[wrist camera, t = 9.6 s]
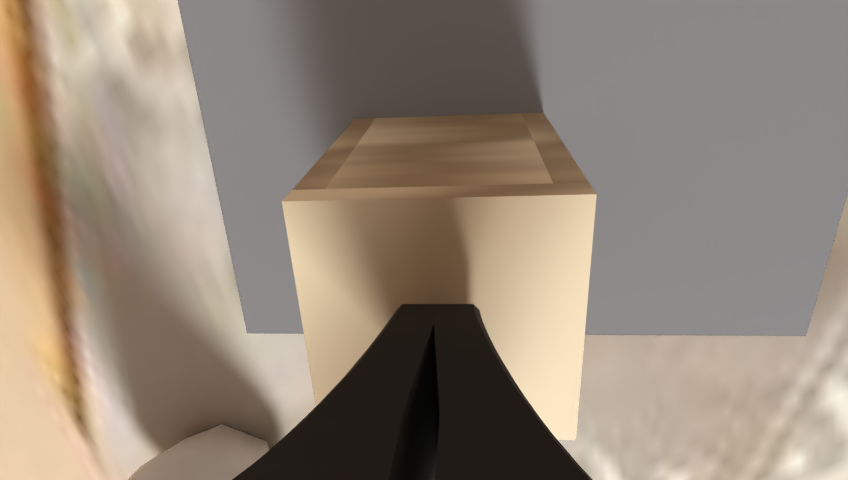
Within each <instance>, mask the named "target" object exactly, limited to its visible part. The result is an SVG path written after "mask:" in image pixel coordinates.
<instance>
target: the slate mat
mask: <svg viewBox="0 0 848 480" xmlns="http://www.w3.org/2000/svg"><path fill="white" fill-rule="evenodd" d="M178 4H179V9H180V14H181V18H182V23H183V28H184V33H185V37H186V42H187V47H188V52H189V57H190V61H191V66H192V71H193V76H194V81H195V85H196V90H197V95H198V100H199V105H200V109H201V114H202V119H203V124H204V129H205V133H206V138H207V143H208V148H209V153H210V157H211V162H212V167H213V172H214V177H215V181H216V186H217V191H218V196H219V201H220V205H221V210H222V215H223V220H224V225H225V229H226V234H227V239H228V244H229V249H230V253H231V258H232V263H233V268H234V273H235V277H236V282H237V287H238V292H239V296H240V301H241V306H242V311H243V316H244V320H245V325H246V330H247V333H288V334H304V332H303V326H302V320H301V314H300V308H299V302H298V296H297V290H296V284H295V278H294V272H293V266H292V260H291V254H290V248H289V242H288V236H287V230H286V224H285V218H284V212H283V206H282V201H283V200H284V198H285V197H286V196H287V195H288V194H289V193H290V192H291V191H292V189H293V188H294V187H295V186H296V185H297V184H298V183H299V181H300V180H301V179H302V178H303V177H304V176H305V175H306V173H307V172H308V171H309V170H310V169H311V168H312V167H313V166H314V164H315V163H316V162H317V161H318V160H319V159H320V158H321V156H322V155H323V154H324V153H325V152H326V151H327V150H328V149H329V147H330V146H331V145H332V144H333V143H334V142H335V141H336V139H337V138H338V137H339V136H340V135H341V134H342V133H343V132H344V130H345V129H346V128H347V127H348V126H349V125H350V124H351V122H352V121H353V120H354V119H372V118H400V117H428V116H456V115H484V114H512V113H540V112H544V114H545V115H546V117H547V119H548V120H549V122H550V123H551V125H552V126H553V128H554V129H555V131H556V132H557V134H558V135H559V137H560V139H561V140H562V142H563V143H564V145H565V146H566V148H567V149H568V151H569V152H570V154H571V155H572V157H573V159H574V160H575V162H576V163H577V165H578V166H579V168H580V169H581V171H582V172H583V174H584V176H585V177H586V179H587V180H588V182H589V183H590V185H591V186H592V188H593V189H594V191H595V192H596V194H597V197H596V209H595V220H594V232H593V244H592V255H591V267H590V279H589V291H588V302H587V314H586V326H585V335H703V336H806V333H807V330H808V326H809V323H810V320H811V316H812V313H813V309H814V306H815V303H816V299H817V296H818V292H819V289H820V286H821V282H822V279H823V275H824V272H825V269H826V265H827V262H828V258H829V255H830V252H831V248H832V245H833V241H834V238H835V235H836V231H837V228H838V224H839V221H840V218H841V214H842V211H843V207H844V204H845V201H846V197H847V194H848V0H178Z"/></svg>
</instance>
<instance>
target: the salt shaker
mask: <svg viewBox="0 0 848 480" xmlns="http://www.w3.org/2000/svg"><path fill="white" fill-rule="evenodd" d="M269 450H270V447H269V445H268V443H267V441H264V440H262V439H259V438H257V437H254V436H251V435H249V434H246V433H244V432H241V431H238V430H236V429H233V428H230V427H228V426H225V425H223V424H221V425H219V426H216V427H214V428H211V429H208V430H206V431H203V432H200V433H198V434H195V435H193V436H190V437H187V438H185V439H183V440H182V441H180V442H179V443H177V444H175V445H174V446H172V447H171V448H169V449H167V450H166V451H164V452H162V453H160V454H159V455H157V456H156V457H154V458H153V459H151V460H150V461H148V462H147V463H145V464H144V465H142V466H141V467H140V468H139V469H138V470H137V471H136V472H135V473H134V474H133V475H132V476H131V477H130V478H129V480H232V479H234V478H235V477H236V476H237V475H239V474H240V473H241V472H243V471H244V470H245V469H247V468H248V467H249V466H251V465H252V464H253V463H255V462H256V461H257V460H258V459H260V458H261V457H262V456H263V455H264V454H265V453H267V452H268V451H269Z"/></svg>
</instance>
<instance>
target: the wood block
mask: <svg viewBox="0 0 848 480" xmlns="http://www.w3.org/2000/svg"><path fill="white" fill-rule="evenodd" d="M596 197H597V194H596V192H595V191H594V189H593V188H592V186H591V185H590V183H589V182H588V180H587V179H586V177H585V176H584V174H583V172H582V171H581V169H580V168H579V166H578V165H577V163H576V162H575V160H574V159H573V157H572V155H571V154H570V152H569V151H568V149H567V148H566V146H565V145H564V143H563V142H562V140H561V139H560V137H559V135H558V134H557V132H556V131H555V129H554V128H553V126H552V125H551V123H550V122H549V120H548V119H547V117H546V115H545V114H544V112H540V113H512V114H484V115H456V116H428V117H400V118H372V119H354V120H353V121H352V122H351V124H350V125H349V126H348V127H347V128H346V129H345V130H344V132H343V133H342V134H341V135H340V136H339V137H338V138H337V139H336V141H335V142H334V143H333V144H332V145H331V146H330V147H329V149H328V150H327V151H326V152H325V153H324V154H323V155H322V156H321V158H320V159H319V160H318V161H317V162H316V163H315V164H314V166H313V167H312V168H311V169H310V170H309V171H308V172H307V173H306V175H305V176H304V177H303V178H302V179H301V180H300V181H299V183H298V184H297V185H296V186H295V187H294V188H293V189H292V191H291V192H290V193H289V194H288V195H287V196H286V197H285V198H284V200H283V201H282V206H283V212H284V218H285V224H286V230H287V236H288V242H289V248H290V254H291V260H292V266H293V272H294V278H295V284H296V290H297V296H298V302H299V308H300V314H301V320H302V326H303V332H304V338H305V344H306V350H307V356H308V362H309V368H310V374H311V380H312V386H313V392H314V398H315V404H316V406H317V405H318V404H319V403H320V402H321V401H322V400H323V399H324V398H325V397H326V395H327V394H328V393H329V392H330V391H331V390H332V389H333V388H334V387H335V386H336V385H337V384H338V383H339V382H340V381H341V380H342V378H343V377H344V376H345V375H346V374H347V373H348V372H349V370H350V369H351V368H352V367H353V366H354V364H355V363H356V362H357V361H358V360H359V358H360V357H361V356H362V355H363V354H364V352H365V351H366V350H367V349H368V348H369V346H370V345H371V344H372V342H373V341H374V340H375V339H376V337H377V336H378V335H379V333H380V332H381V331H382V329H383V328H384V327H385V325H386V324H387V322H388V321H389V320H390V318H391V317H392V315H393V314H394V313H395V311H396V310H397V309H398V308H399V307H400V306H401V305H402V304H474V305H475V306H476V307H477V308H478V309H479V310H480V314H481V318H482V321H483V323H484V326H485V328H486V330H487V333H488V335H489V337H490V339H491V341H492V343H493V345H494V347H495V349H496V350H497V352H498V354H499V356H500V358H501V359H502V361H503V363H504V364H505V366H506V368H507V369H508V371H509V373H510V374H511V376H512V377H513V379H514V381H515V382H516V384H517V385H518V387H519V388H520V390H521V391H522V393H523V394H524V396H525V397H526V399H527V400H528V402H529V403H530V404H531V406H532V407H533V409H534V410H535V411H536V413H537V414H538V415H539V417H540V418H541V420H542V421H543V422H544V423H545V425H546V426H547V427H548V429H549V430H550V431H551V433H552V434H553V435H554V436H555V437H556V439H557V440H576V432H577V420H578V408H579V396H580V385H581V373H582V361H583V349H584V338H585V326H586V314H587V302H588V291H589V279H590V267H591V255H592V244H593V232H594V220H595V209H596Z"/></svg>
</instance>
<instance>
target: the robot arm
mask: <svg viewBox="0 0 848 480" xmlns="http://www.w3.org/2000/svg"><path fill="white" fill-rule="evenodd" d="M232 480H592V479H591V478H590V477H589V476H588V474H587V473H586V472H585V471H584V470H583V469H582V468H581V467H580V466H579V465H578V463H577V462H576V461H575V460H574V459H573V458H572V456H571V455H570V454H569V453H568V452H567V451H566V449H565V448H564V447H563V446H562V445H561V444H560V442H559V441H558V440H557V439H556V437H555V436H554V435H553V434H552V433H551V431H550V430H549V429H548V427H547V426H546V425H545V423H544V422H543V421H542V420H541V418H540V417H539V415H538V414H537V413H536V411H535V410H534V409H533V407H532V406H531V404H530V403H529V402H528V400H527V399H526V397H525V396H524V394H523V393H522V391H521V390H520V388H519V387H518V385H517V384H516V382H515V381H514V379H513V377H512V376H511V374H510V373H509V371H508V369H507V368H506V366H505V364H504V363H503V361H502V359H501V358H500V356H499V354H498V352H497V350H496V349H495V347H494V345H493V343H492V341H491V339H490V337H489V335H488V333H487V330H486V328H485V326H484V323H483V321H482V318H481V314H480V310H479V309H478V308H477V307H476V306H475V305H474V304H402V305H401V306H400V307H399V308H398V309H397V310H396V311H395V313H394V314H393V315H392V317H391V318H390V320H389V321H388V322H387V324H386V325H385V327H384V328H383V329H382V331H381V332H380V333H379V335H378V336H377V337H376V339H375V340H374V341H373V342H372V344H371V345H370V346H369V348H368V349H367V350H366V351H365V352H364V354H363V355H362V356H361V357H360V358H359V360H358V361H357V362H356V363H355V364H354V366H353V367H352V368H351V369H350V370H349V372H348V373H347V374H346V375H345V376H344V377H343V378H342V380H341V381H340V382H339V383H338V384H337V385H336V386H335V387H334V388H333V389H332V390H331V391H330V392H329V393H328V394H327V395H326V397H325V398H324V399H323V400H322V401H321V402H320V403H319V404H318V405H317V406H316V407H315V408H314V409H313V410H312V411H311V412H310V413H309V414H308V415H307V416H306V417H305V418H304V419H303V420H302V421H301V422H300V423H299V424H298V425H297V426H296V427H295V428H294V429H292V430H291V431H290V432H289V433H288V434H287V435H286V436H285V437H284V438H283V439H281V440H280V441H279V442H278V443H277V444H276V445H275V446H273V447H272V448H271V449H270V450H269V451H268V452H267V453H265V454H264V455H263V456H262V457H261V458H260V459H258V460H257V461H256V462H255V463H253V464H252V465H251V466H249V467H248V468H247V469H245V470H244V471H243V472H241V473H240V474H239V475H237V476H236V477H235V478H234V479H232Z"/></svg>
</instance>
